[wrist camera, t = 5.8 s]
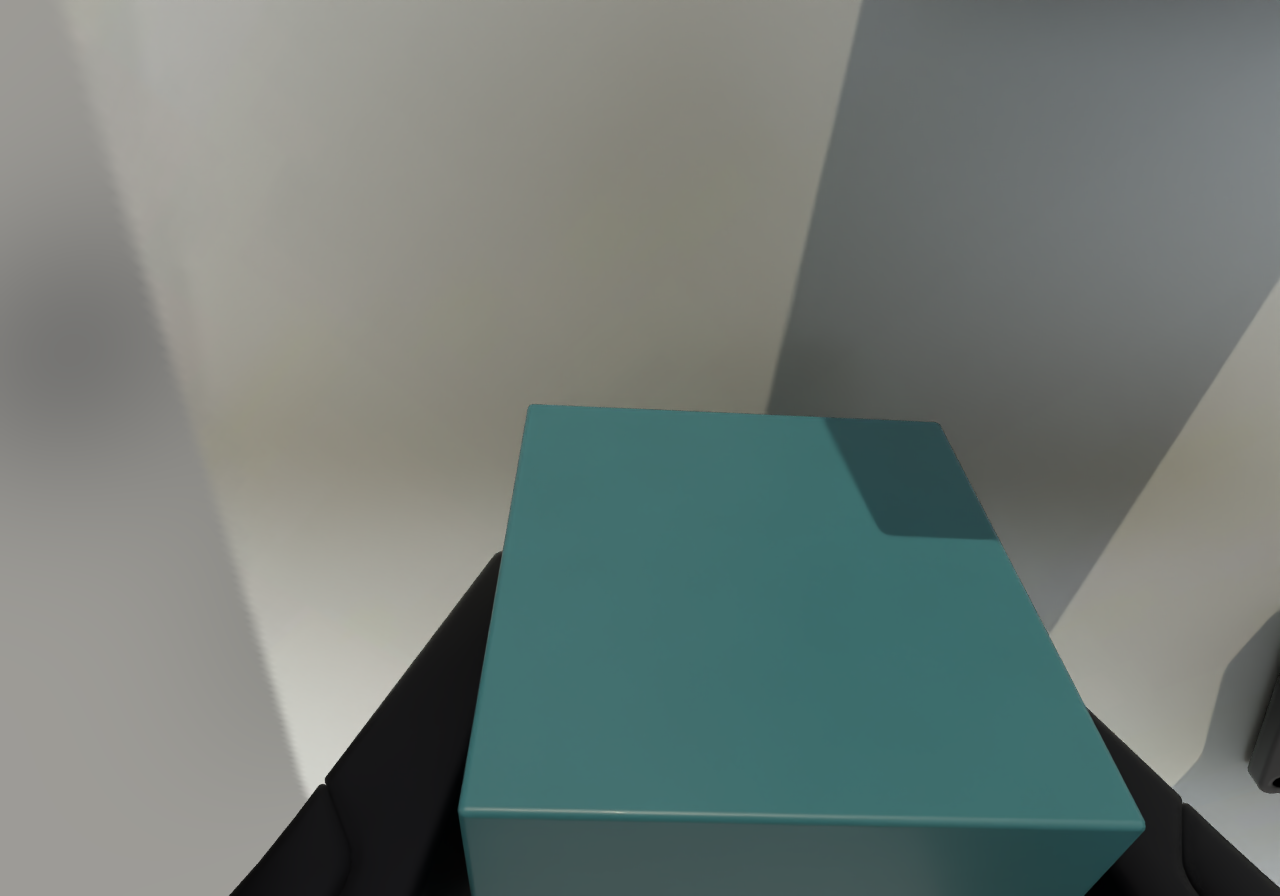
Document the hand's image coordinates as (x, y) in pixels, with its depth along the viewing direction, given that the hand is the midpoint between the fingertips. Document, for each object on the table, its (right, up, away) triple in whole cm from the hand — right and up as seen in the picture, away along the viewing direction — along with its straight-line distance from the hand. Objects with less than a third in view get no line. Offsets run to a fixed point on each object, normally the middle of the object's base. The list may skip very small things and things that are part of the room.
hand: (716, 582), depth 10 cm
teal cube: (0, 0, 0) cm, 0 cm away
